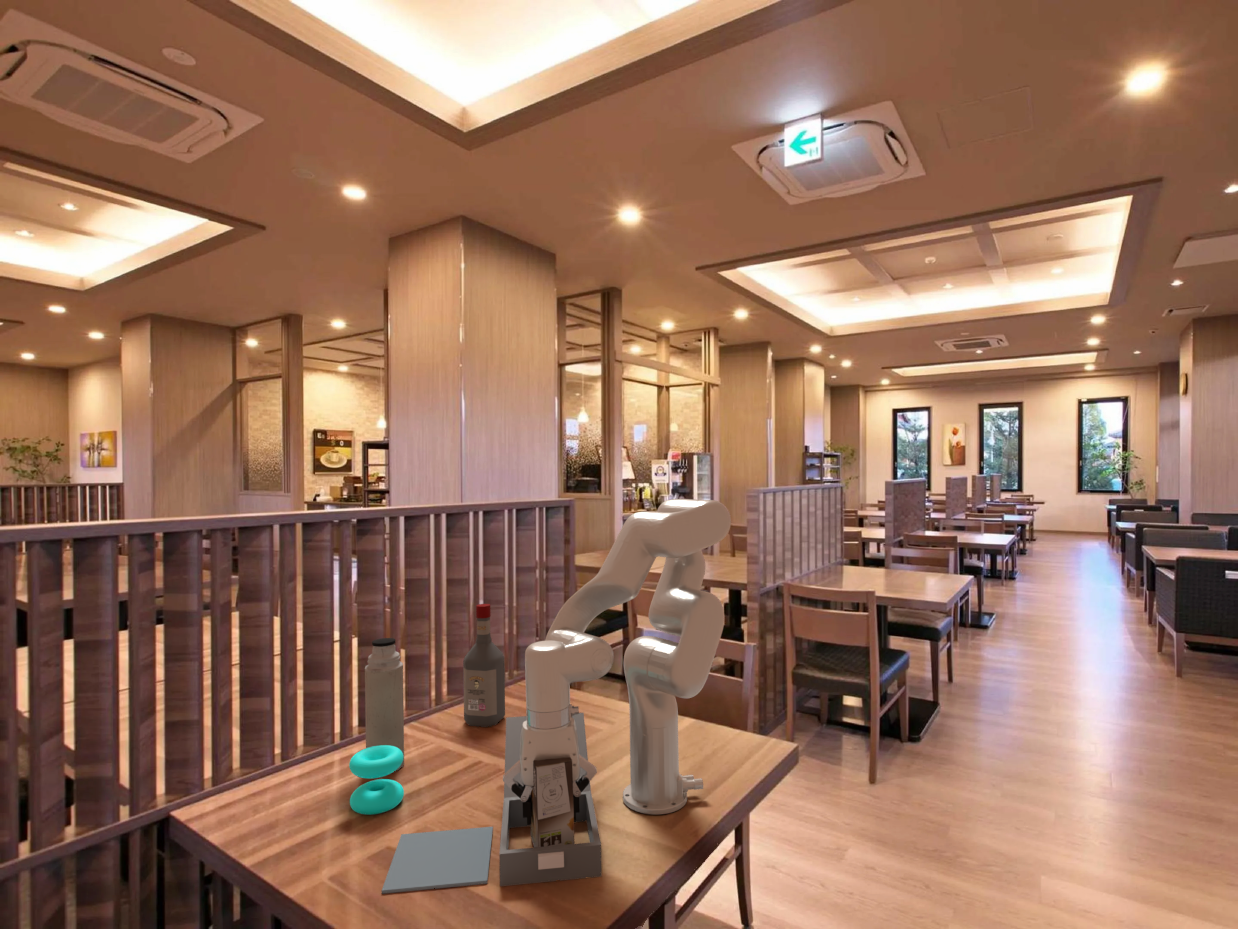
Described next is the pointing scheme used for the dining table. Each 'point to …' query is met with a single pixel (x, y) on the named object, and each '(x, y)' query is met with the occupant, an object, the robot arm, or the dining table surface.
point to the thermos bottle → (384, 696)
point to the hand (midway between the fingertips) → (551, 818)
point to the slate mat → (440, 860)
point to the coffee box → (552, 803)
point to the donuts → (376, 792)
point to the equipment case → (549, 850)
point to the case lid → (514, 746)
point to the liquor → (484, 676)
